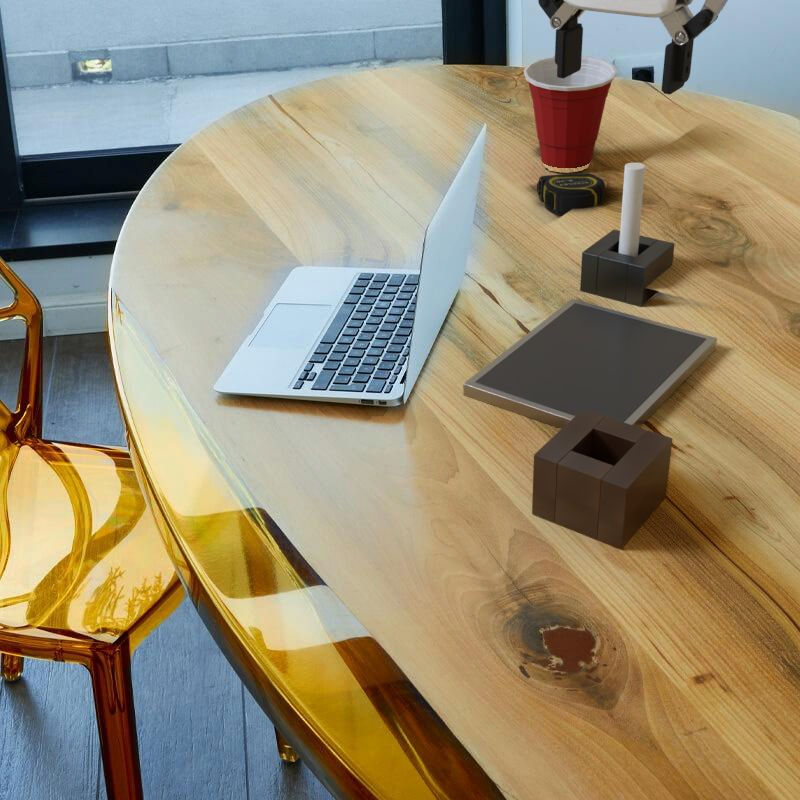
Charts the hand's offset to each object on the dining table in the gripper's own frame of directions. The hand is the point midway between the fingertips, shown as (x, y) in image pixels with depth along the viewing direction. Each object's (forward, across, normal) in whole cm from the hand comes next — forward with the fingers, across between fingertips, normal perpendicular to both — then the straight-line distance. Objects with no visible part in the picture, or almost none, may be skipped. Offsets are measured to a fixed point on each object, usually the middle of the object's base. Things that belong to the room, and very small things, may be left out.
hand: (619, 81), depth 92 cm
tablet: (+20, -6, +14) cm, 25 cm away
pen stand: (+20, -14, +30) cm, 39 cm away
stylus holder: (+20, -1, -2) cm, 20 cm away
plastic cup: (+20, +20, -29) cm, 40 cm away
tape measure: (+20, +13, -17) cm, 29 cm away
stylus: (+20, -1, -2) cm, 20 cm away
